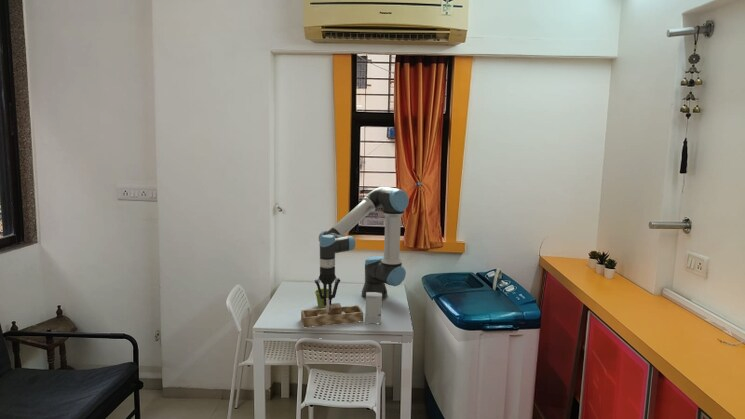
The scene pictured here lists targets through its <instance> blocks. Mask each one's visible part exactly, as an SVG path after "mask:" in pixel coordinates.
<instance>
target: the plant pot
mask: <svg viewBox="0 0 745 419" xmlns="http://www.w3.org/2000/svg"><path fill="white" fill-rule="evenodd" d="M321 292H322V296H323V288H321ZM314 294H315V297H316V302H317V307H318V309H322V308H326V306H324V299H321V298H320V295H319V291H318V289H316V290H314ZM327 298H329V297H328V288H327Z"/></svg>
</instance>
